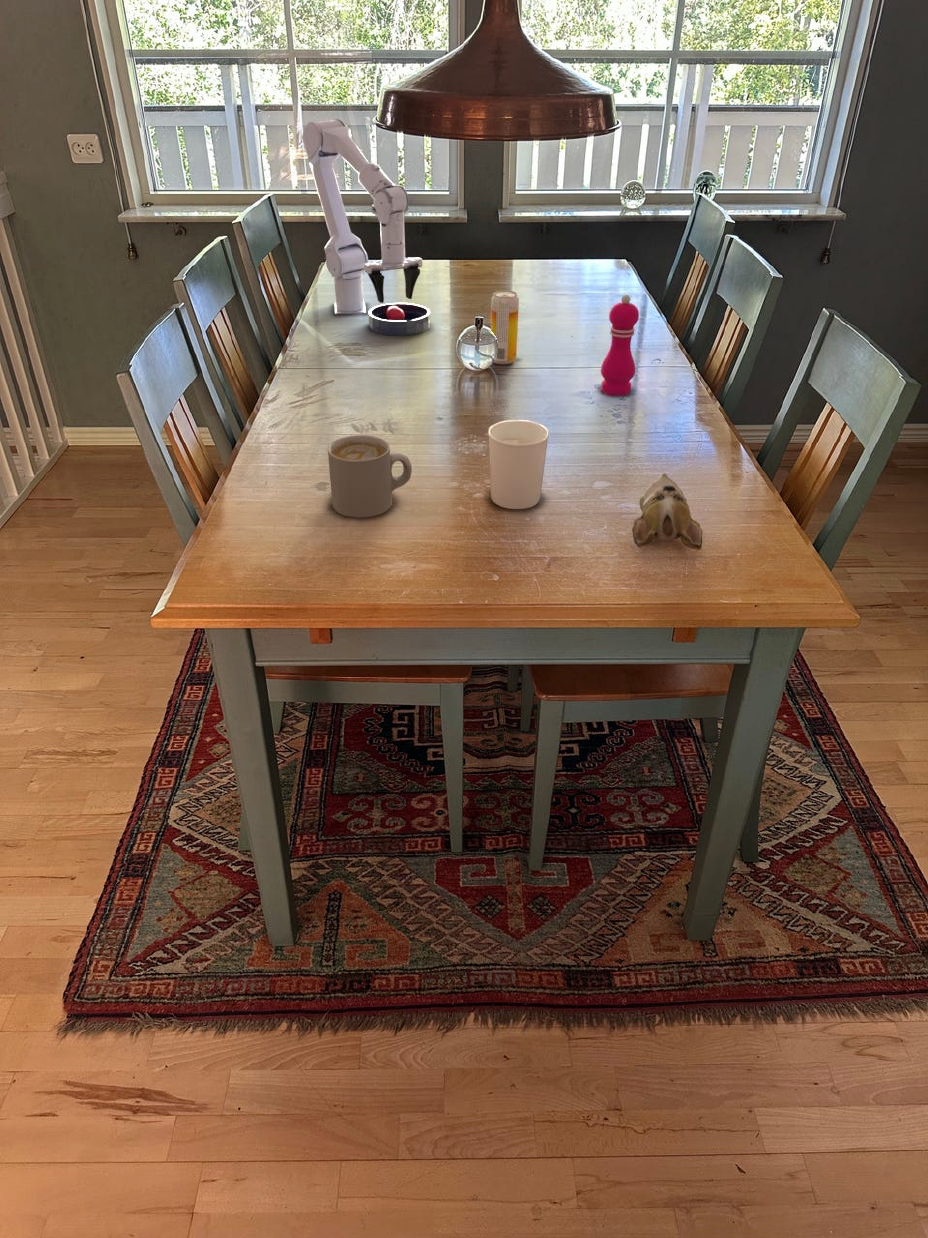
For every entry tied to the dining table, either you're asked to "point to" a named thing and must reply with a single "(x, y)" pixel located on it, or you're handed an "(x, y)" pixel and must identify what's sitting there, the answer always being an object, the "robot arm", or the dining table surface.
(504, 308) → the beer can
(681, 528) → the ceramic sculpture
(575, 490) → the dining table surface
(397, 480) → the coffee mug
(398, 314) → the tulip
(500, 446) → the white cup
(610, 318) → the pepper mill
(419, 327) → the bowl
